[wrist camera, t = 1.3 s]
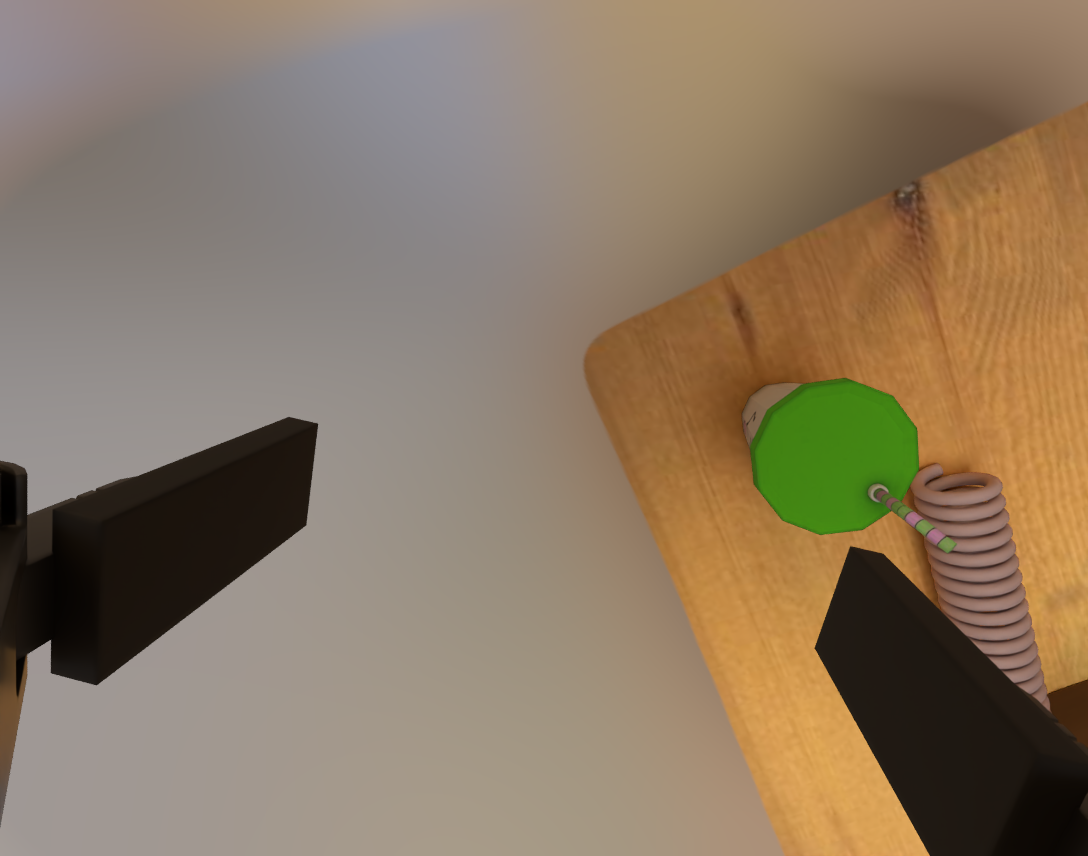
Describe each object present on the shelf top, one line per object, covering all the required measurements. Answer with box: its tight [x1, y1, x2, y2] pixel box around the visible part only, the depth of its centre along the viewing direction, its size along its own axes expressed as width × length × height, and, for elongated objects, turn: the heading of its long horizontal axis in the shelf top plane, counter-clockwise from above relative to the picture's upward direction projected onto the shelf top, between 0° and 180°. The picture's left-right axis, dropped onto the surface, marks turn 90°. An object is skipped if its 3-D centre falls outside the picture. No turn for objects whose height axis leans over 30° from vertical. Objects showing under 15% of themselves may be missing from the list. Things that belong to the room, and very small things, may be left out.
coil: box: [910, 463, 1052, 713], centre depth 39 cm, size 5×5×18 cm
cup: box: [742, 378, 957, 554], centre depth 33 cm, size 8×8×15 cm
